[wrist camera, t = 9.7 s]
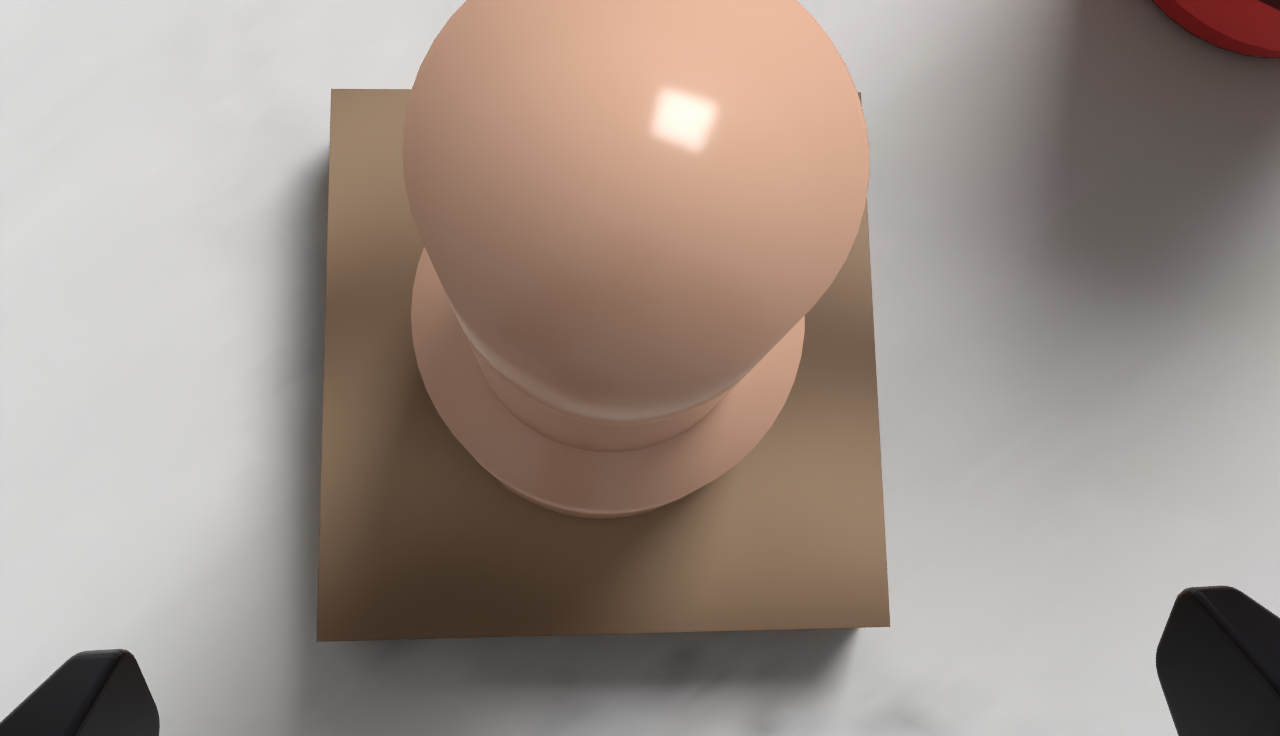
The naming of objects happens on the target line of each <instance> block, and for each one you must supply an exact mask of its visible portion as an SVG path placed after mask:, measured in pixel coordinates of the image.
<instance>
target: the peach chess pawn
mask: <svg viewBox="0 0 1280 736" xmlns="http://www.w3.org/2000/svg"><path fill="white" fill-rule="evenodd" d="M402 154H403V169H404V182H405V186H406V191H407V196H408V201H409V205H410V210H411V213H412V216H413V218H414V221H415V224H416V227H417V230H418V232H419V235H420V238H421V240H422V242H423V245H424V249H423V252H422V254H421V257H420V260H419V263H418V266H417V271H416V276H415V281H414V286H413V292H412V306H411V324H412V339H413V345H414V350H415V355H416V359H417V364H418V368H419V371H420V373H421V376H422V379H423V382H424V385H425V388H426V390H427V392H428V394H429V396H430V398H431V400H432V402H433V404H434V406H435V408H436V410H437V412H438V414H439V415H440V416H441V418H442V419H443V421H444V422H445V424H446V425H447V427H448V428H449V429H450V431H451V432H452V434H453V435H454V436H455V437H456V438H457V439H458V441H459V442H460V443H461V444H462V445H463V446H464V447H465V448H466V449H467V451H468V452H469V453H470V454H471V455H472V456H473V457H474V458H475V459H476V460H477V462H478V463H479V464H480V465H481V466H482V467H483V468H484V469H485V470H486V471H487V472H488V474H489V475H491V476H492V477H493V478H494V479H495V480H497V481H498V482H499V483H500V484H501V485H503V486H504V487H505V488H507V489H508V490H510V491H511V492H513V493H514V494H516V495H518V496H519V497H521V498H522V499H524V500H526V501H528V502H531V503H533V504H535V505H537V506H539V507H542V508H544V509H547V510H550V511H554V512H557V513H560V514H564V515H569V516H575V517H581V518H593V519H612V518H622V517H630V516H634V515H638V514H643V513H647V512H651V511H653V510H656V509H658V508H661V507H664V506H666V505H669V504H671V503H673V502H675V501H677V500H678V499H680V498H682V497H684V496H686V495H688V494H690V493H691V492H693V491H695V490H697V489H699V488H701V487H703V486H704V485H706V484H708V483H710V482H712V481H714V480H715V479H717V478H718V477H720V476H721V475H723V474H724V473H725V472H727V471H728V470H729V469H731V468H732V467H733V466H735V465H736V464H738V463H739V462H740V461H741V460H742V459H743V458H744V457H745V456H746V455H747V454H748V453H749V452H750V451H751V450H752V449H753V448H754V447H755V446H756V445H757V444H758V443H759V441H760V440H761V439H762V438H763V436H764V435H765V434H766V433H767V431H768V430H769V429H770V427H771V426H772V425H773V423H774V421H775V420H776V418H777V416H778V415H779V413H780V411H781V410H782V408H783V406H784V405H785V402H786V400H787V398H788V395H789V393H790V391H791V388H792V386H793V384H794V381H795V378H796V374H797V370H798V367H799V363H800V360H801V355H802V348H803V340H804V333H805V315H806V314H807V313H808V312H809V311H810V309H811V308H812V307H813V306H814V305H815V304H816V303H817V301H818V300H819V299H820V298H821V296H822V295H823V294H824V293H825V291H826V290H827V289H828V288H829V286H830V285H831V284H832V282H833V281H834V279H835V277H836V276H837V274H838V272H839V271H840V269H841V267H842V266H843V264H844V262H845V261H846V259H847V257H848V255H849V252H850V250H851V248H852V245H853V243H854V240H855V238H856V236H857V233H858V231H859V227H860V223H861V219H862V216H863V212H864V208H865V205H866V198H867V190H868V182H869V143H868V136H867V129H866V123H865V117H864V113H863V110H862V106H861V103H860V99H859V96H858V92H857V90H856V87H855V85H854V83H853V80H852V78H851V76H850V73H849V71H848V69H847V66H846V64H845V63H844V61H843V59H842V57H841V56H840V54H839V52H838V51H837V49H836V47H835V46H834V44H833V42H832V41H831V39H830V38H829V37H828V35H827V34H826V33H825V31H824V30H823V29H822V28H821V26H820V25H819V24H818V22H817V21H816V20H815V19H814V17H813V16H812V15H811V14H810V13H809V12H808V11H807V10H806V9H805V8H804V7H803V6H802V5H801V4H800V3H799V2H798V1H797V0H467V1H466V2H465V3H464V4H463V5H462V6H461V7H460V8H459V9H458V10H457V11H456V12H455V13H454V14H453V15H452V16H451V18H450V19H449V20H448V22H447V23H446V25H445V26H444V27H443V29H442V30H441V31H440V33H439V34H438V36H437V37H436V38H435V40H434V41H433V43H432V45H431V47H430V49H429V51H428V53H427V55H426V57H425V58H424V60H423V62H422V64H421V66H420V69H419V71H418V74H417V77H416V80H415V82H414V85H413V88H412V91H411V93H410V98H409V103H408V107H407V112H406V117H405V121H404V134H403V148H402Z"/></svg>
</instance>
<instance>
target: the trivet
mask: <svg viewBox="0 0 1280 736" xmlns="http://www.w3.org/2000/svg"><path fill="white" fill-rule="evenodd" d="M411 91H412V90H411V89H331V117H330V154H329V192H328V230H327V268H326V305H325V343H324V381H323V419H322V456H321V494H320V532H319V570H318V607H317V642H318V641H357V640H396V639H434V638H473V637H512V636H551V635H589V634H628V633H667V632H706V631H745V630H783V629H822V628H861V627H890V615H889V597H888V579H887V561H886V542H885V524H884V506H883V488H882V469H881V451H880V433H879V415H878V396H877V378H876V360H875V342H874V323H873V305H872V287H871V268H870V250H869V232H868V214H867V198H866V205H865V208H864V212H863V216H862V219H861V223H860V227H859V231H858V233H857V236H856V238H855V240H854V243H853V245H852V248H851V250H850V252H849V255H848V257H847V259H846V261H845V262H844V264H843V266H842V267H841V269H840V271H839V272H838V274H837V276H836V277H835V279H834V281H833V282H832V284H831V285H830V286H829V288H828V289H827V290H826V291H825V293H824V294H823V295H822V296H821V298H820V299H819V300H818V301H817V303H816V304H815V305H814V306H813V307H812V308H811V309H810V311H809V312H808V313H807V314H806V315H805V333H804V340H803V348H802V355H801V360H800V363H799V367H798V370H797V374H796V378H795V381H794V384H793V386H792V388H791V391H790V393H789V395H788V398H787V400H786V402H785V405H784V406H783V408H782V410H781V411H780V413H779V415H778V416H777V418H776V420H775V421H774V423H773V425H772V426H771V427H770V429H769V430H768V431H767V433H766V434H765V435H764V436H763V438H762V439H761V440H760V441H759V443H758V444H757V445H756V446H755V447H754V448H753V449H752V450H751V451H750V452H749V453H748V454H747V455H746V456H745V457H744V458H743V459H742V460H741V461H740V462H739V463H738V464H736V465H735V466H733V467H732V468H731V469H729V470H728V471H727V472H725V473H724V474H723V475H721V476H720V477H718V478H717V479H715V480H714V481H712V482H710V483H708V484H706V485H704V486H703V487H701V488H699V489H697V490H695V491H693V492H691V493H690V494H688V495H686V496H684V497H682V498H680V499H678V500H677V501H675V502H673V503H671V504H669V505H666V506H664V507H661V508H658V509H656V510H653V511H651V512H647V513H643V514H638V515H634V516H630V517H622V518H612V519H593V518H581V517H575V516H569V515H564V514H560V513H557V512H554V511H550V510H547V509H544V508H542V507H539V506H537V505H535V504H533V503H531V502H528V501H526V500H524V499H522V498H521V497H519V496H518V495H516V494H514V493H513V492H511V491H510V490H508V489H507V488H505V487H504V486H503V485H501V484H500V483H499V482H498V481H497V480H495V479H494V478H493V477H492V476H491V475H489V474H488V472H487V471H486V470H485V469H484V468H483V467H482V466H481V465H480V464H479V463H478V462H477V460H476V459H475V458H474V457H473V456H472V455H471V454H470V453H469V452H468V451H467V449H466V448H465V447H464V446H463V445H462V444H461V443H460V442H459V441H458V439H457V438H456V437H455V436H454V435H453V434H452V432H451V431H450V429H449V428H448V427H447V425H446V424H445V422H444V421H443V419H442V418H441V416H440V415H439V414H438V412H437V410H436V408H435V406H434V404H433V402H432V400H431V398H430V396H429V394H428V392H427V390H426V388H425V385H424V382H423V379H422V376H421V373H420V371H419V368H418V364H417V359H416V355H415V350H414V345H413V339H412V324H411V306H412V292H413V286H414V281H415V276H416V271H417V266H418V263H419V260H420V257H421V254H422V252H423V249H424V245H423V242H422V240H421V238H420V235H419V232H418V230H417V227H416V224H415V221H414V218H413V216H412V213H411V210H410V205H409V201H408V196H407V191H406V186H405V182H404V169H403V154H402V148H403V134H404V121H405V117H406V112H407V107H408V103H409V98H410V93H411ZM858 96H859V99H860V103H861V93H859V92H858ZM861 106H862V104H861Z"/></svg>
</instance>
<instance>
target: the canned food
mask: <svg viewBox="0 0 1280 736" xmlns="http://www.w3.org/2000/svg"><path fill="white" fill-rule="evenodd" d="M1153 1H1154V2H1155V3H1156V4H1157V5H1158V6H1159V7H1160V8H1161V9H1162V10H1163V11H1164V12H1165V13H1166V14H1167V15H1168V16H1169V17H1170V18H1171V19H1173V20H1174V21H1175V22H1177V23H1178V24H1180V25H1181V26H1182V27H1184V28H1185V29H1186V30H1188V31H1189V32H1191V33H1192V34H1193V35H1195V36H1197V37H1199V38H1201V39H1203V40H1206V41H1208V42H1210V43H1212V44H1214V45H1216V46H1218V47H1220V48H1223V49H1227V50H1230V51H1234V52H1237V53H1241V54H1245V55H1248V56H1258V57H1270V58H1280V0H1153Z"/></svg>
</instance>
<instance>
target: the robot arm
mask: <svg viewBox="0 0 1280 736" xmlns="http://www.w3.org/2000/svg"><path fill="white" fill-rule="evenodd" d="M1156 668H1157V674H1158V677H1159V681H1160V684H1161V686H1162V689H1163V692H1164V695H1165V698H1166V701H1167V704H1168V707H1169V710H1170V713H1171V715H1172V718H1173V721H1174V724H1175V727H1176V730H1177V733H1178V736H1280V618H1279V617H1278V616H1276V615H1275V614H1273V613H1272V612H1270V611H1269V610H1267V609H1266V608H1265V607H1263V606H1262V605H1260V604H1259V603H1257V602H1256V601H1254V600H1253V599H1252V598H1250V597H1249V596H1247V595H1246V594H1244V593H1243V592H1241V591H1239V590H1237V589H1235V588H1233V587H1229V586H1208V587H1191V588H1187V589H1184V590H1183V591H1182V592H1181V593H1180V594H1179V595H1178V596H1177V598H1176V600H1175V603H1174V606H1173V608H1172V611H1171V613H1170V616H1169V619H1168V621H1167V624H1166V626H1165V629H1164V632H1163V634H1162V637H1161V639H1160V642H1159V645H1158V648H1157V652H1156ZM159 727H160V726H159V715H158V710H157V707H156V704H155V702H154V700H153V698H152V695H151V693H150V691H149V688H148V686H147V684H146V681H145V679H144V677H143V675H142V672H141V670H140V668H139V665H138V663H137V661H136V659H135V657H134V656H133V655H132V654H131V653H130V652H129V651H127V650H123V649H112V650H94V651H84V652H80V653H77V654H76V655H74V656H72V657H71V658H70V659H68V660H67V661H66V662H65V663H64V664H63V665H62V666H61V667H60V668H58V669H57V670H56V671H55V672H54V673H53V674H52V675H51V676H50V677H49V678H48V679H47V680H46V681H44V682H43V683H42V684H41V685H40V686H39V687H38V688H37V689H36V690H35V691H34V692H33V693H32V694H30V695H29V696H28V697H27V698H26V699H25V700H24V701H23V702H22V703H21V704H20V705H19V706H18V707H16V708H15V709H14V710H13V711H12V712H11V713H10V714H9V715H8V716H7V717H6V718H5V719H4V720H2V721H1V722H0V736H159Z"/></svg>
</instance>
